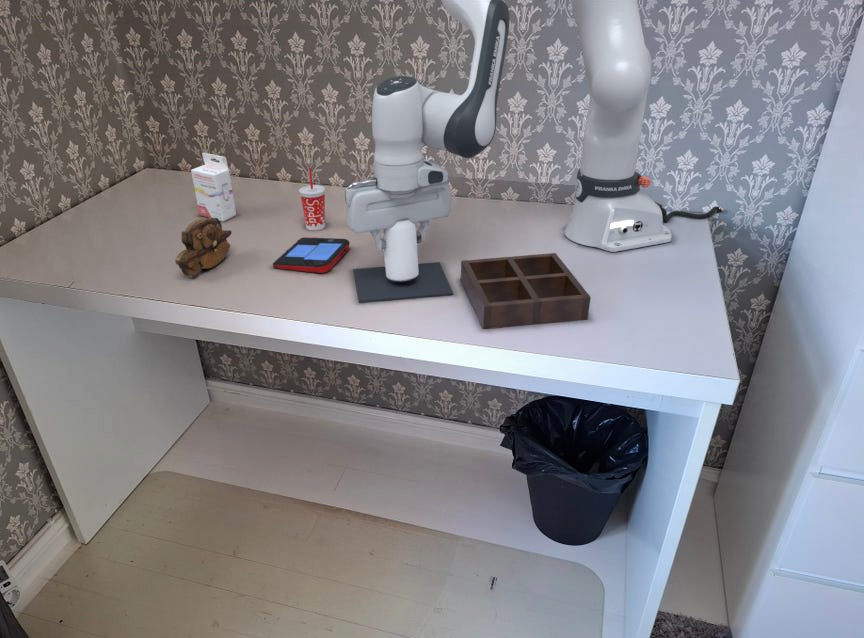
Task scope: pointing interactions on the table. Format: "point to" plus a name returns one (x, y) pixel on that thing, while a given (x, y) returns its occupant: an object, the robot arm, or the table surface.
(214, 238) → the wooden carving
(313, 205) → the beverage cup
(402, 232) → the can
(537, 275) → the crate
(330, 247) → the game console
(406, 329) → the table surface
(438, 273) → the mat
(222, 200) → the ink cartridge box
